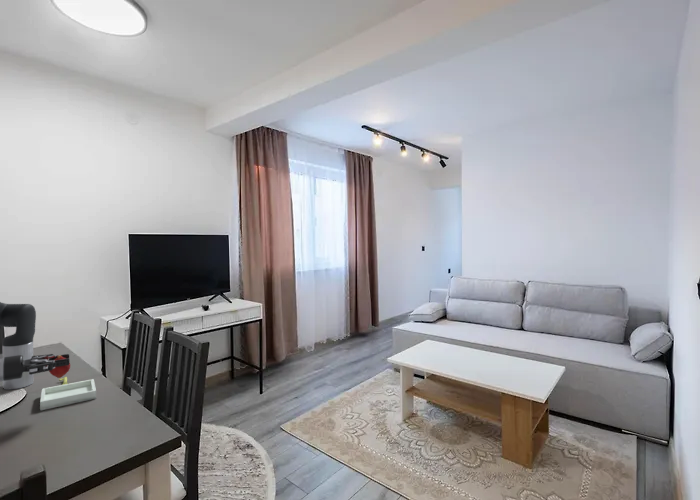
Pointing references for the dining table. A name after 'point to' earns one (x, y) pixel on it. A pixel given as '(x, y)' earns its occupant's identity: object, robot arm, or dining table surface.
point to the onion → (60, 369)
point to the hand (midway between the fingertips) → (69, 359)
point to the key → (64, 380)
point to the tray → (67, 394)
